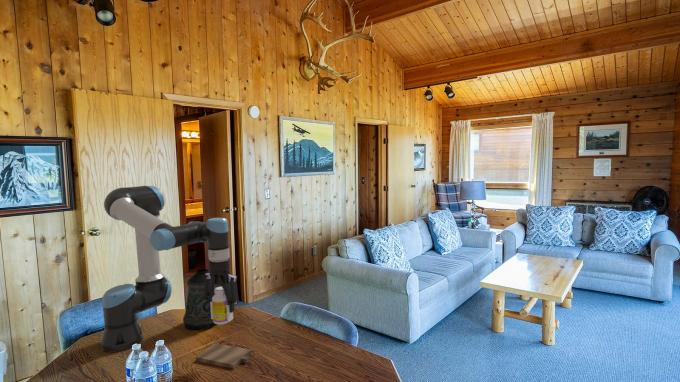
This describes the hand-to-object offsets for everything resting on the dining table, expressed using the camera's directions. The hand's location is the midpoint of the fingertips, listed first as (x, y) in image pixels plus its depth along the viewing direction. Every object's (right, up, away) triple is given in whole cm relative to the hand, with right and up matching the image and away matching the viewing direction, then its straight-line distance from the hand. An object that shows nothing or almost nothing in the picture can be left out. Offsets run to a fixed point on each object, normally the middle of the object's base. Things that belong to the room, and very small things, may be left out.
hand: (222, 318), depth 140 cm
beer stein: (-18, -13, +32) cm, 39 cm away
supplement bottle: (0, -1, 0) cm, 1 cm away
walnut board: (+1, -15, +1) cm, 15 cm away
